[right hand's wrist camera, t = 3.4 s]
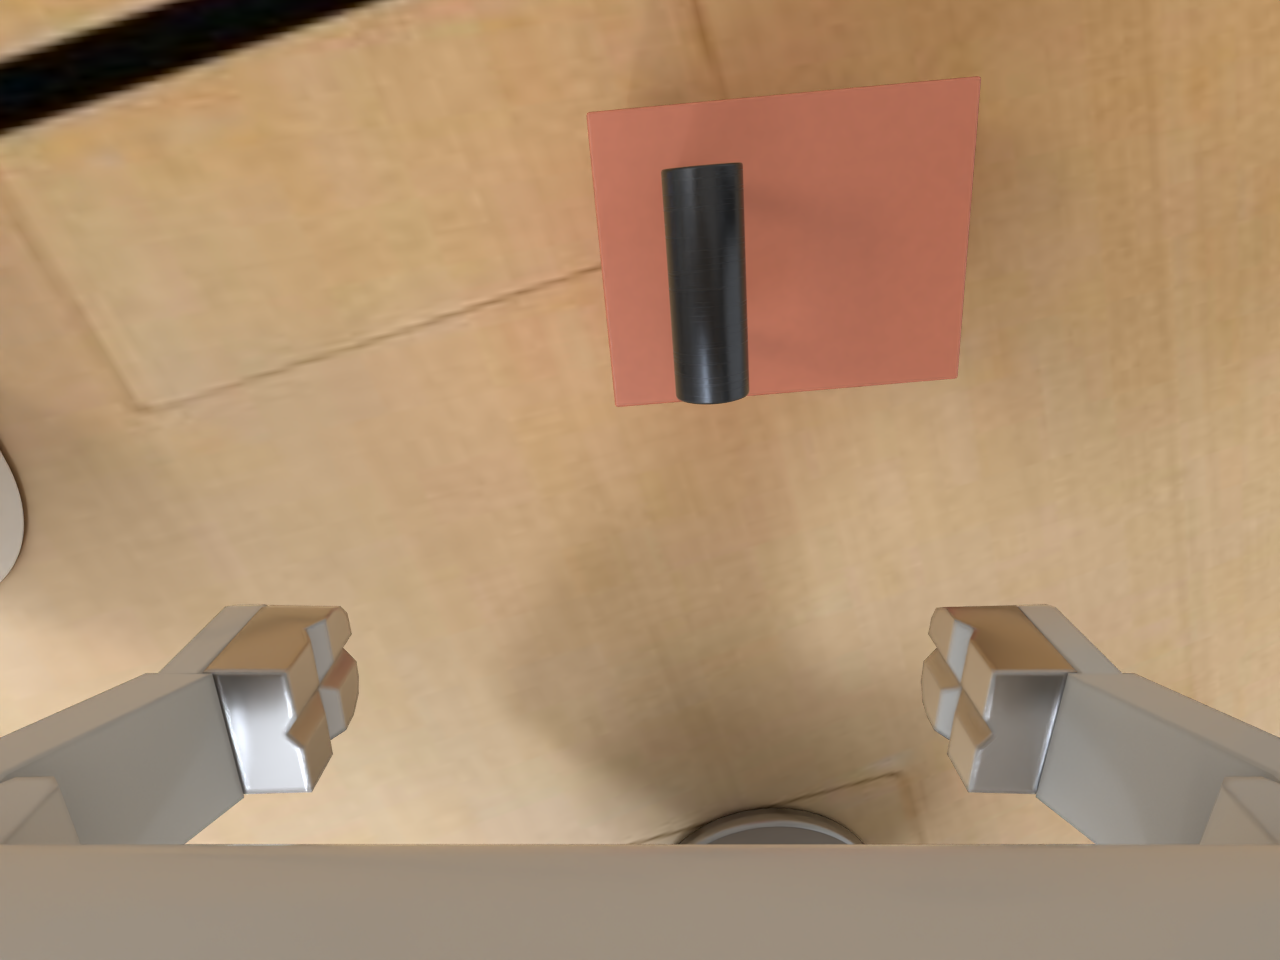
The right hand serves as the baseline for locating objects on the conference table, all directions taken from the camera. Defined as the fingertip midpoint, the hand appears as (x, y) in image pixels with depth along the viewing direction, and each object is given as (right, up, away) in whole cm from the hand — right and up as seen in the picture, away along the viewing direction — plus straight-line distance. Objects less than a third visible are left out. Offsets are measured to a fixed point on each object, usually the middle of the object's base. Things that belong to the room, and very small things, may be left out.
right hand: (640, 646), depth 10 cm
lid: (+5, +10, +15) cm, 19 cm away
